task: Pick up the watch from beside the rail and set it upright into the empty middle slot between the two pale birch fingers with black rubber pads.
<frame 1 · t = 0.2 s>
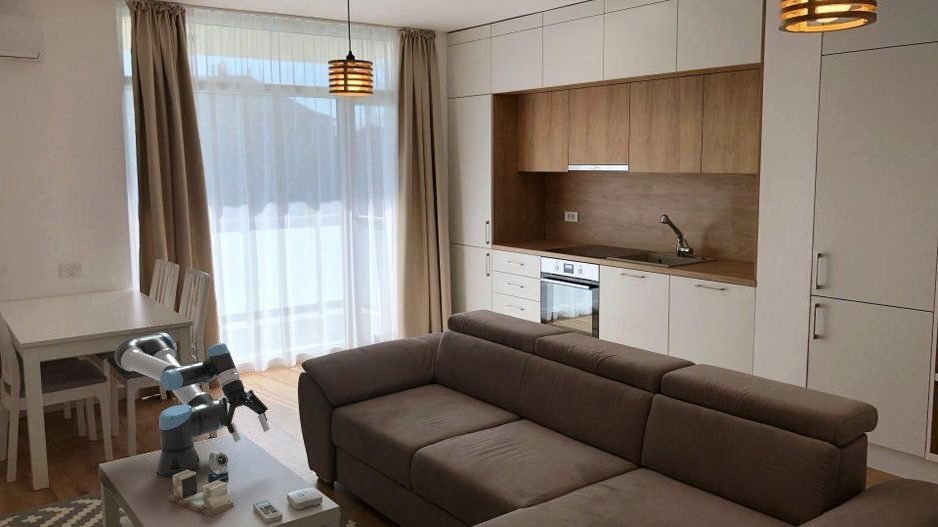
hand: (252, 435, 286), 15 cm above the table, tool tilted 30°, fingers open, 13 cm apart
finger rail: (200, 503, 264), on the table
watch: (218, 481, 282), on the table
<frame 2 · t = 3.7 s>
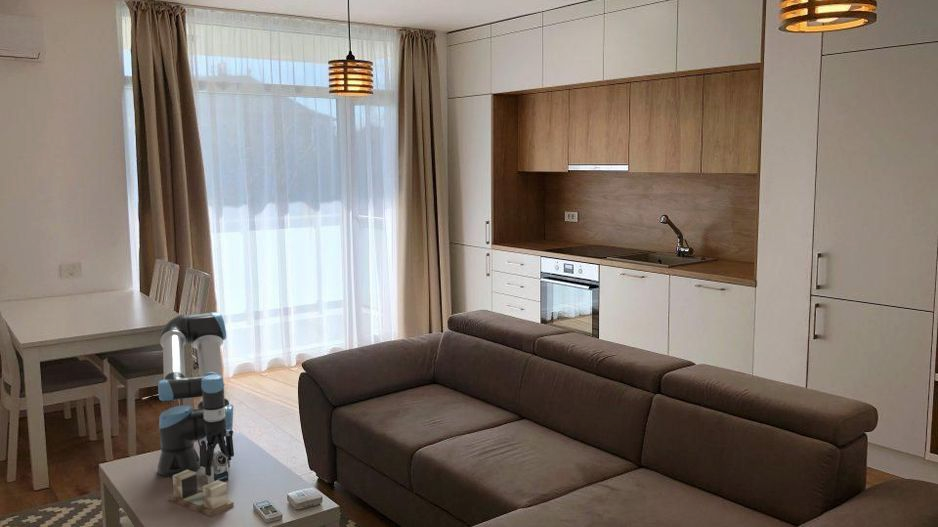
hand: (218, 480, 282), 0 cm above the table, tool pointing down, fingers closed on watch, 6 cm apart
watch: (218, 481, 282), on the table, touching gripper
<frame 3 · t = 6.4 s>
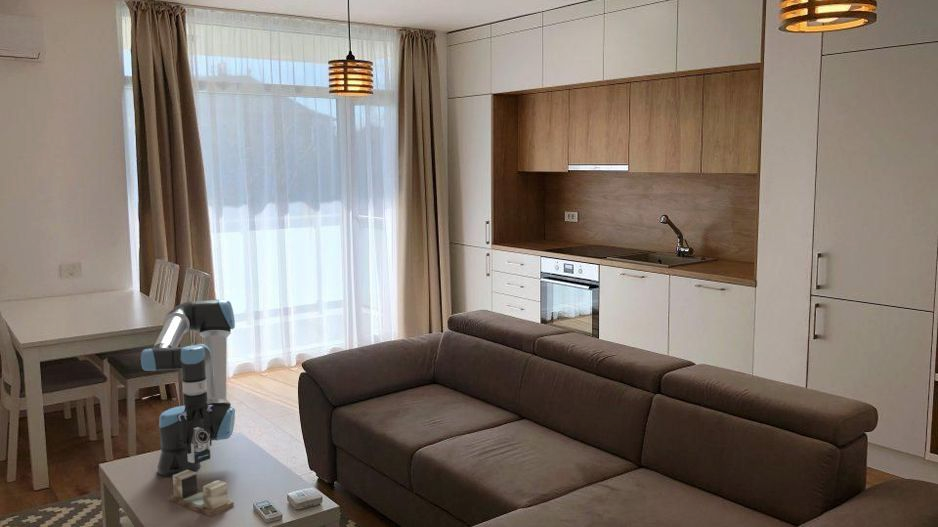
hand: (199, 458, 263), 15 cm above the table, tool pointing down, fingers closed on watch, 6 cm apart
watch: (199, 460, 264), point 15 cm above the table, touching gripper
when the fingers open (4 cm above the table, at t = 9.3 s): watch drops 2 cm, resting on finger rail.
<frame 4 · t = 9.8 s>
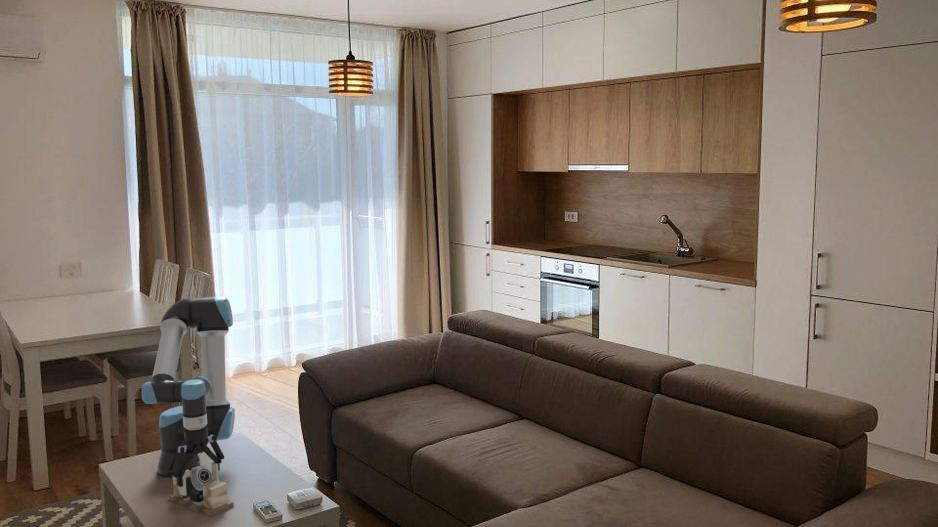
hand: (199, 487, 264), 5 cm above the table, tool pointing down, fingers open, 12 cm apart
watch: (201, 498, 265), point 1 cm above the table, touching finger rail
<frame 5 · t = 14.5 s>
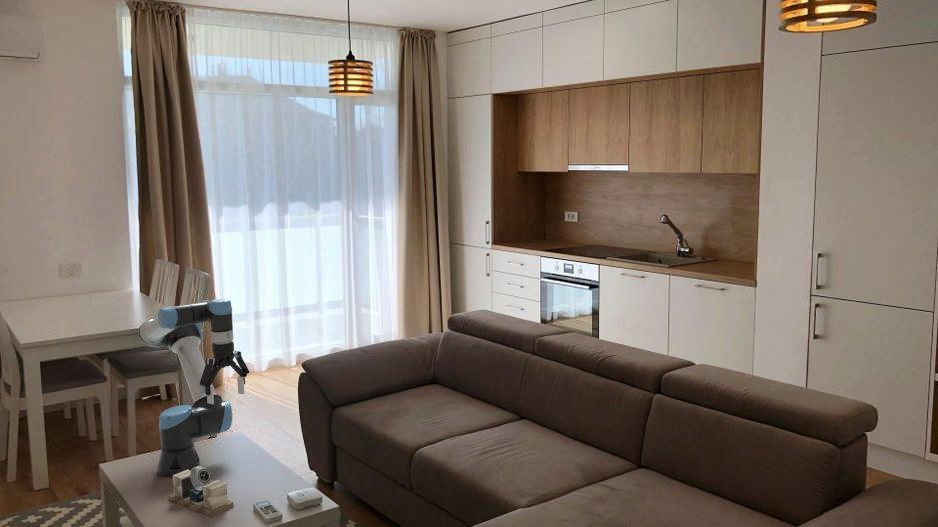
hand: (226, 398, 285), 29 cm above the table, tool pointing down, fingers open, 13 cm apart
nothing on the table moved.
at the end: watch 0.3 cm off-centre on the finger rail, point 1.4 cm above the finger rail's base; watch tilted 0°; the gripper is holding nothing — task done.
